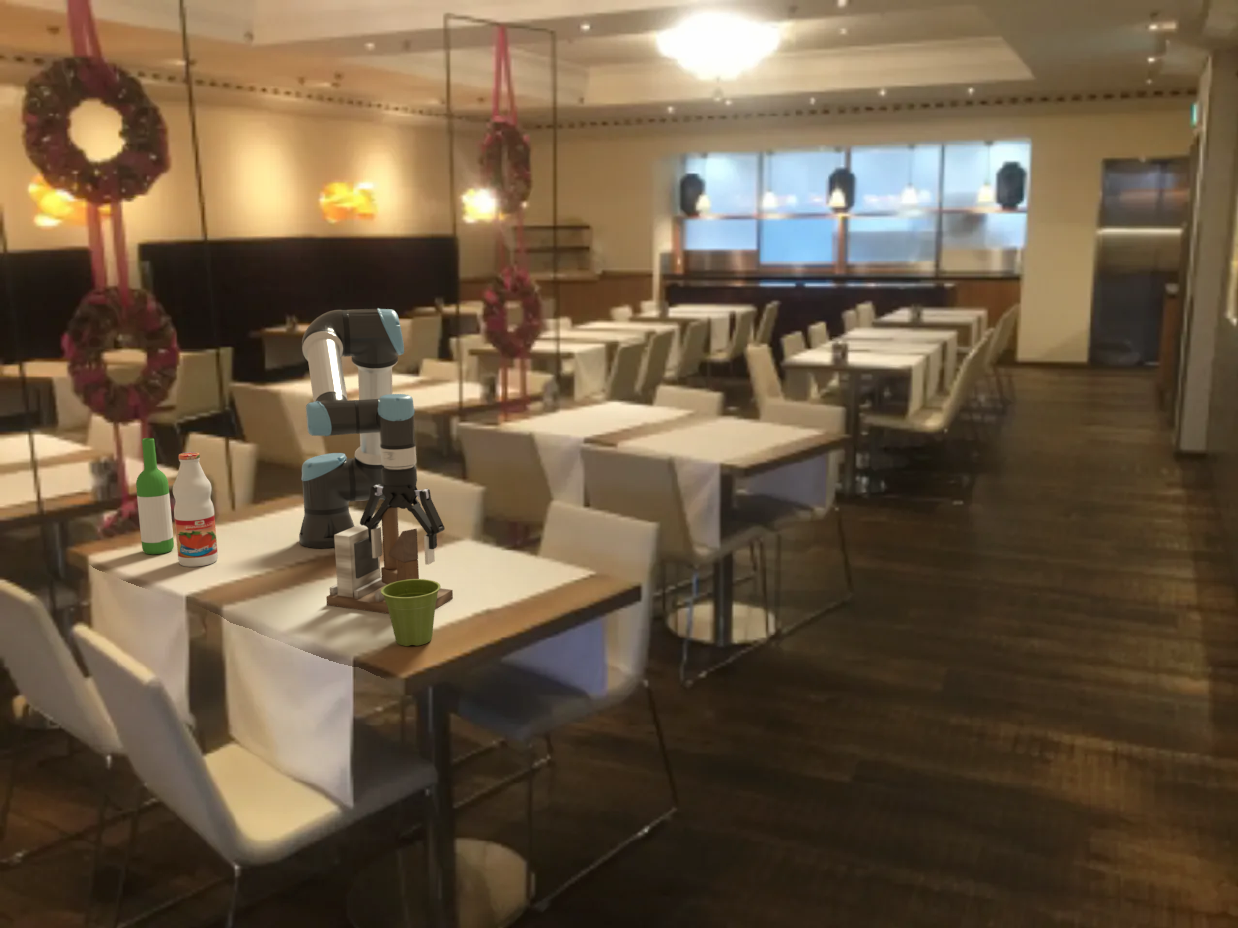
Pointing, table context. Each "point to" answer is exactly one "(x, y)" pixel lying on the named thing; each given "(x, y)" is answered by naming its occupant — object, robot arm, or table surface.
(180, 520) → the fruit juice
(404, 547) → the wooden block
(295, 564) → the table surface
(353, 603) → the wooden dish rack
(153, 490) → the wine bottle
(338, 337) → the robot arm
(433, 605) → the plant pot
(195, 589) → the table surface
